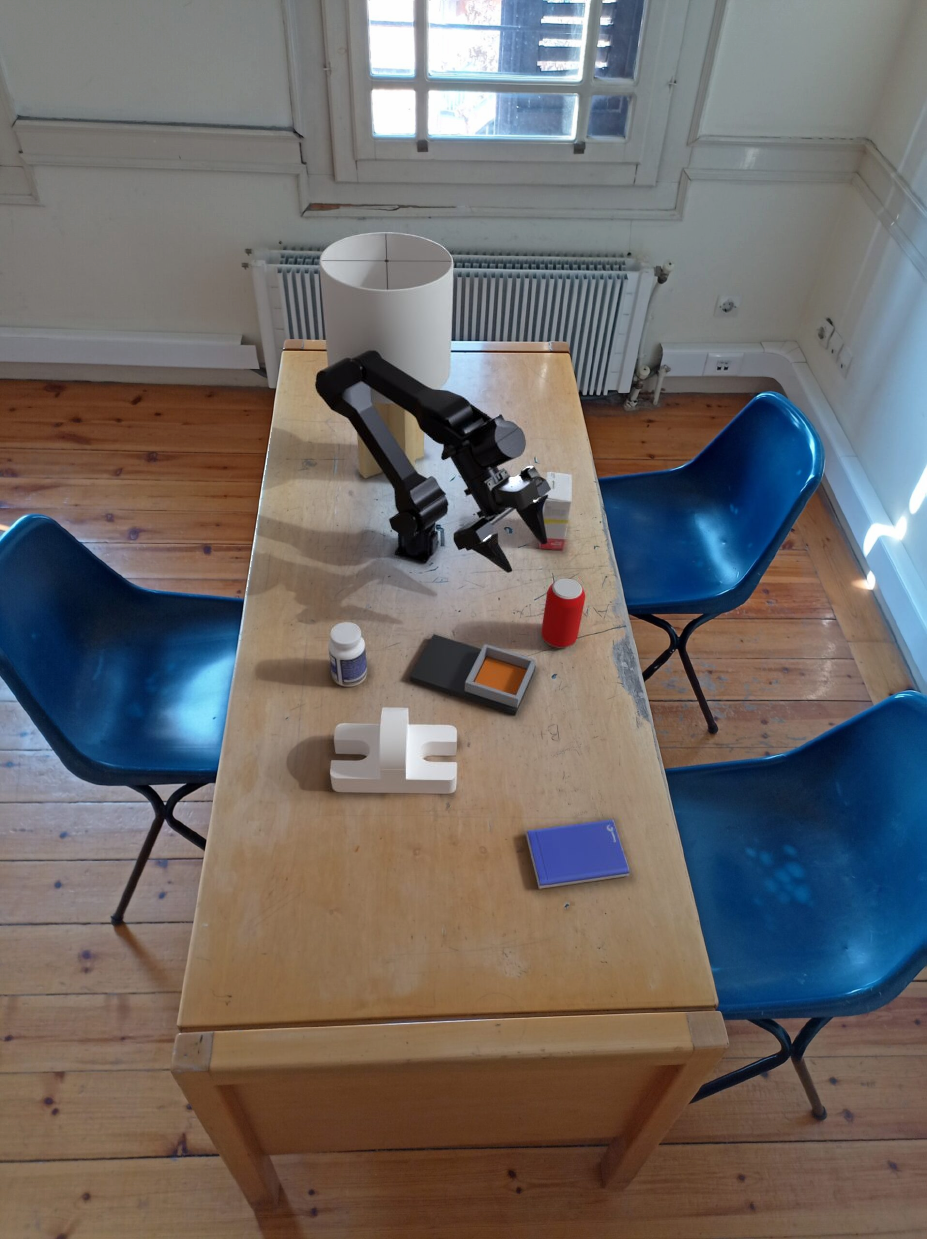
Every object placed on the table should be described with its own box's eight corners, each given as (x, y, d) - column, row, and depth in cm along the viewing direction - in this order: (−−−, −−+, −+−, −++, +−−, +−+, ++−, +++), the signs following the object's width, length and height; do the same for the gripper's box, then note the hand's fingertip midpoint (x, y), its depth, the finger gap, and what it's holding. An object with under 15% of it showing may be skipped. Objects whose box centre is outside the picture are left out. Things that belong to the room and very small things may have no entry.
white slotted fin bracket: (337, 737, 130) (332, 692, 122) (456, 739, 130) (458, 695, 123) (331, 792, 123) (325, 748, 116) (456, 793, 124) (458, 750, 116)
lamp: (469, 475, 176) (479, 270, 145) (372, 513, 166) (361, 302, 135) (410, 421, 188) (408, 222, 157) (316, 453, 179) (295, 248, 148)
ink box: (564, 551, 161) (572, 501, 152) (538, 549, 161) (544, 499, 153) (564, 522, 167) (572, 472, 158) (539, 519, 167) (545, 470, 158)
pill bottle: (372, 666, 140) (370, 624, 133) (358, 692, 136) (355, 650, 129) (340, 657, 141) (336, 615, 134) (325, 682, 137) (320, 640, 130)
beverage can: (580, 649, 144) (591, 599, 135) (545, 653, 143) (553, 602, 134) (571, 623, 148) (581, 572, 139) (536, 626, 147) (544, 576, 139)
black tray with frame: (409, 681, 138) (409, 667, 136) (433, 638, 145) (433, 624, 142) (515, 715, 134) (517, 702, 132) (534, 670, 140) (537, 657, 138)
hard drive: (613, 818, 120) (526, 829, 119) (630, 871, 115) (540, 884, 113) (611, 823, 121) (525, 835, 120) (628, 877, 116) (538, 890, 114)
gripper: (470, 488, 125) (523, 579, 128) (548, 434, 134) (595, 520, 138) (430, 505, 134) (479, 590, 137) (505, 453, 144) (550, 533, 147)
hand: (528, 557), depth 140 cm, fingers open, 9 cm apart
